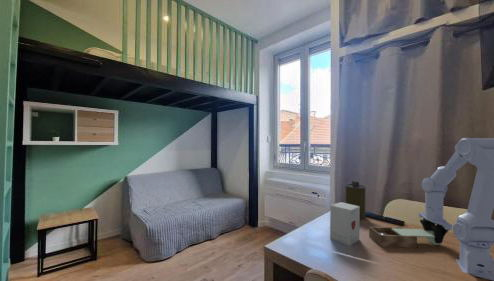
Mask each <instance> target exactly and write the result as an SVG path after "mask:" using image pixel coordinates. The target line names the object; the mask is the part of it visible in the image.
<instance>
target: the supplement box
mask: <svg viewBox="0 0 494 281" xmlns="http://www.w3.org/2000/svg"><path fill="white" fill-rule="evenodd" d="M329 229H330V230H329V239H331V240H333V241H336V242H338V243H341V244H344V245H347V246H352V245H354V244H355V243H356V242H359V241H360V206H356V205H351V204H347V203H346V202H341V201H340V202H338V203H333V204H330V222H329Z"/></svg>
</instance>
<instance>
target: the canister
mask: <svg viewBox="0 0 494 281" xmlns="http://www.w3.org/2000/svg"><path fill="white" fill-rule="evenodd" d="M344 186H345V203H347V204H351V205H356V206H360V220H361V221H362V220H365V219H366V188H367V186H365V185H362V184H360V182H359V181H358V180H351V183H349V184H348V183H347V184H345V185H344ZM360 220H359V221H360Z"/></svg>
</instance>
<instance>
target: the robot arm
mask: <svg viewBox="0 0 494 281" xmlns="http://www.w3.org/2000/svg"><path fill="white" fill-rule="evenodd" d="M454 151H455V152H454V153H453V155H451V157H450V159H448V162H447V163H446V164H445V165H444V166H443V165H441V166H438V167H437V168H436V170H435V171H434V172H433V174H432V175H431V176H430V177H424V178H423V180H422V181H421V187H422V190H423V191H424V193H425V194H424V197H425V198H424V201H425V204H424V212H423V211H422V212H418V217H419V218H422V219H419V222H420V224H421V225H422V229H423V230H424V231H427V230H428V231H433V232H434V236H435V238H434V239H435V242H436V243H440V244H442V243H443V242H444V241H443V240H444V238H445V235H446V234H447V233H448V232H449V231H451V230H452V232H453V235H454V236H455V238H456V239H457V240H458V241H459V259H458V258H456V259H455V261H456V263H457V265H458V266H459V268H460V269H461V271H462V273H465V274H469V275H473V277H477V278H481V279H485V280H490V281H494V258H493V255H492V251H491V250H492V247H494V220H493V219H492V216H493V212H494V137H490V138H489V137H487V138H486V137H483V138H482V137H481V138H480V137H479V138H478V137H477V138H475V137H463V138H460V139H459V140H458V142H457V143H456V144H455V146H454ZM468 162H469V163H470V164H471V165H472V166H475V168H476V174H475V178H474V181H473V182H474V183H473V186H472V189H471V195H470V198H469V201H468V207H467V210H466V212H465V213H463V214H461V215H459V216H457V220H456V221H455V222H454V223H453V225H452V224H451V223H449V222H448V221H447V220H446V219H447V218H444V198H445V197H446V193H447V191H448V189H449V187H448V185H449V184H450V183H451V182H452V181H453V180H454V179H455V178H456V177H457V171H458V170H459V169H460V168H462V167H463V166H464V165H465V164H467V163H468Z"/></svg>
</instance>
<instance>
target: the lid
mask: <svg viewBox="0 0 494 281" xmlns="http://www.w3.org/2000/svg"><path fill="white" fill-rule="evenodd" d="M391 230H392V231H394V232H395V233H397V234H398V235H404V236H417V238H425V239H426V238H427V239H426V240H427V241H428V243H431V244H432V245H435V246H440V245H441V243H436V242H435V239H434V238H435V236H434V232H433V231H428V230H427V231H424V229H423V228H403V229H395V228H391Z"/></svg>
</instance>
